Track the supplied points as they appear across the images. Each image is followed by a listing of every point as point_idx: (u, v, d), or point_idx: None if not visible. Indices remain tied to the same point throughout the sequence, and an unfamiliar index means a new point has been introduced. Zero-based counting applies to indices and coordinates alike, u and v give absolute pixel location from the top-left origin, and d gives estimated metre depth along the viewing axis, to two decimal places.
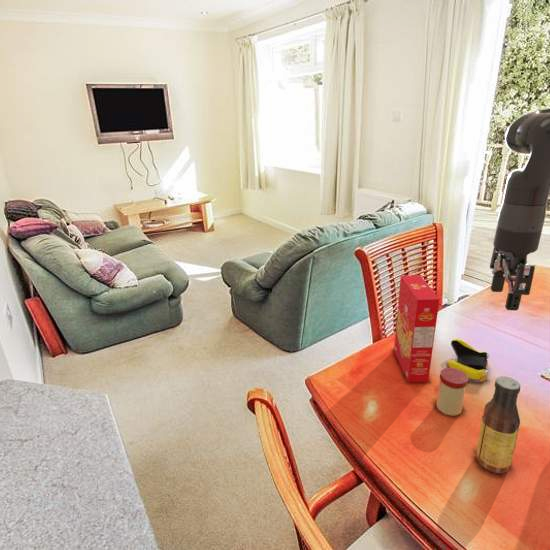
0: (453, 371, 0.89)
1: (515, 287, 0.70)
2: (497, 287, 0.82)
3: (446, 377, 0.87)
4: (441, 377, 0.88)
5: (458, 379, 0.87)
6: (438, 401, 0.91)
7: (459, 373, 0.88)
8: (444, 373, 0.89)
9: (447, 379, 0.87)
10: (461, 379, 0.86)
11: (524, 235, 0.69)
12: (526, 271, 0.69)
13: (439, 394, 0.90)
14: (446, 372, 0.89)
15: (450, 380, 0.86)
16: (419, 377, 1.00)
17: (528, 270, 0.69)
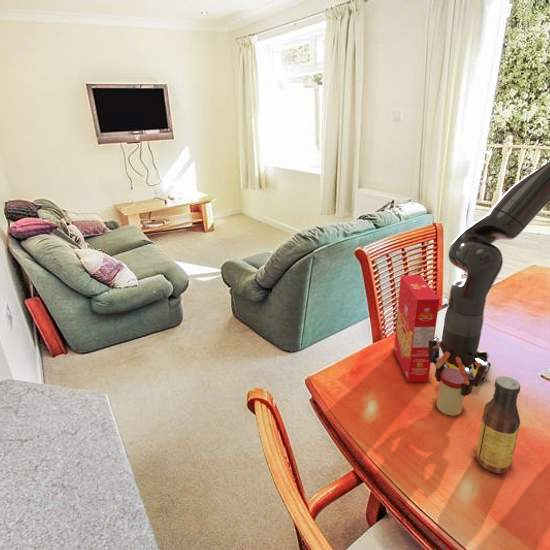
0: (453, 371, 0.89)
1: (477, 381, 0.82)
2: None
3: (446, 377, 0.87)
4: (441, 377, 0.88)
5: (458, 379, 0.87)
6: (438, 401, 0.91)
7: (459, 373, 0.88)
8: (444, 373, 0.89)
9: (447, 379, 0.87)
10: (461, 379, 0.86)
11: (477, 337, 0.80)
12: (486, 369, 0.80)
13: (439, 394, 0.90)
14: (446, 372, 0.89)
15: (450, 380, 0.86)
16: (419, 377, 1.00)
17: (487, 368, 0.80)
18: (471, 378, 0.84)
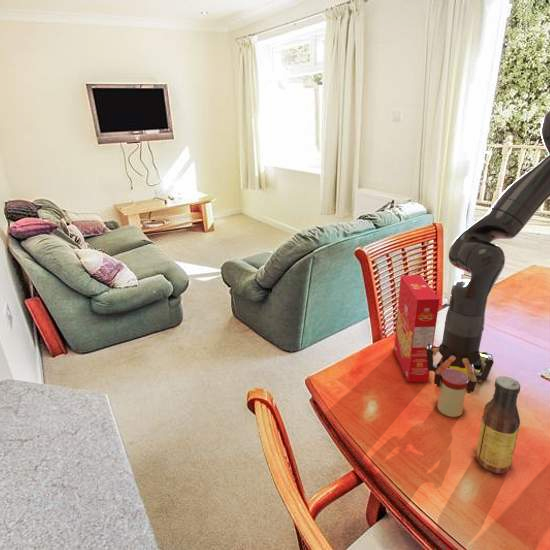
0: (450, 372, 0.89)
1: (485, 376, 0.83)
2: None
3: (452, 381, 0.86)
4: (447, 382, 0.86)
5: (461, 378, 0.86)
6: (439, 403, 0.90)
7: (456, 372, 0.89)
8: (446, 377, 0.87)
9: (454, 382, 0.85)
10: (463, 378, 0.87)
11: None
12: None
13: (440, 396, 0.89)
14: (447, 375, 0.88)
15: (457, 382, 0.85)
16: (419, 377, 1.00)
17: None
18: (475, 374, 0.85)
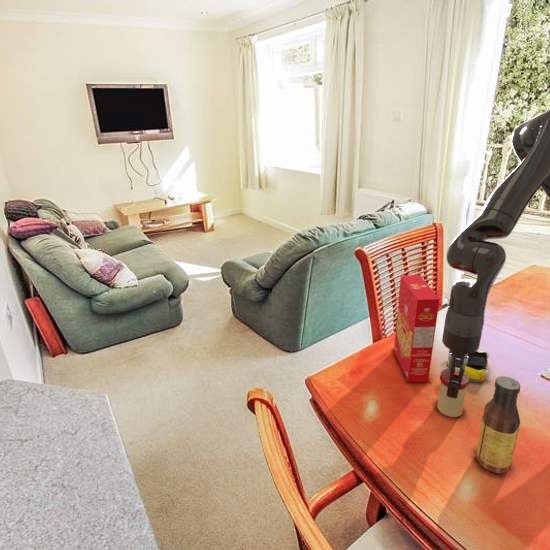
0: (448, 377, 0.87)
1: None
2: None
3: (464, 380, 0.86)
4: (465, 384, 0.85)
5: None
6: (439, 403, 0.90)
7: (447, 373, 0.88)
8: None
9: (466, 379, 0.86)
10: None
11: None
12: None
13: (440, 396, 0.89)
14: None
15: (465, 377, 0.87)
16: (419, 377, 1.00)
17: None
18: None
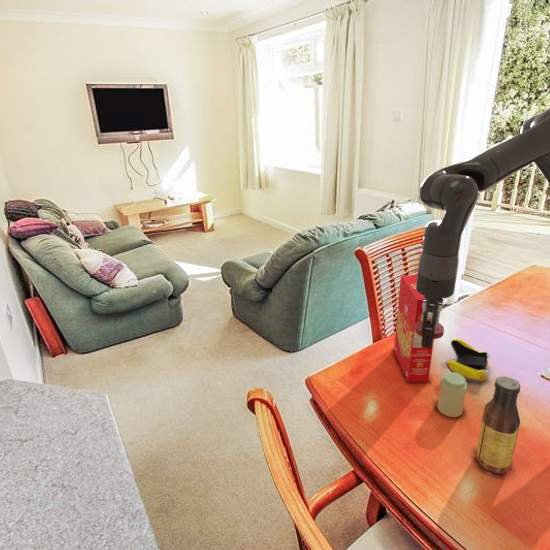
0: None
1: None
2: None
3: (439, 329, 0.82)
4: (440, 334, 0.81)
5: None
6: (439, 403, 0.90)
7: (422, 324, 0.84)
8: None
9: (441, 329, 0.82)
10: None
11: None
12: None
13: (440, 396, 0.89)
14: None
15: (440, 327, 0.83)
16: (419, 377, 1.00)
17: None
18: None
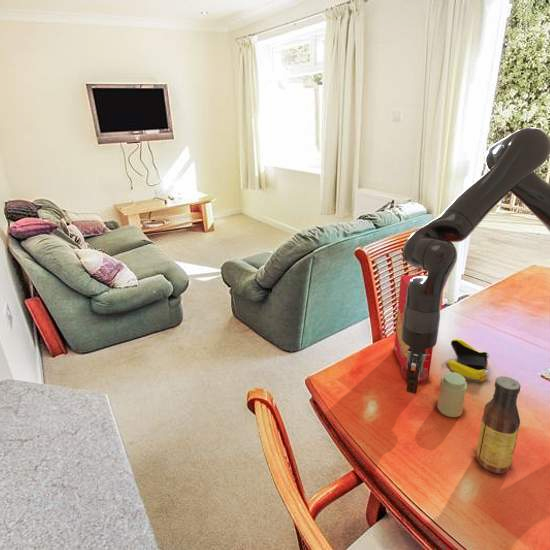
0: None
1: None
2: None
3: (423, 375, 0.87)
4: (424, 380, 0.86)
5: None
6: (439, 403, 0.90)
7: None
8: None
9: (425, 374, 0.87)
10: None
11: None
12: None
13: (440, 396, 0.89)
14: None
15: (425, 373, 0.88)
16: None
17: None
18: None
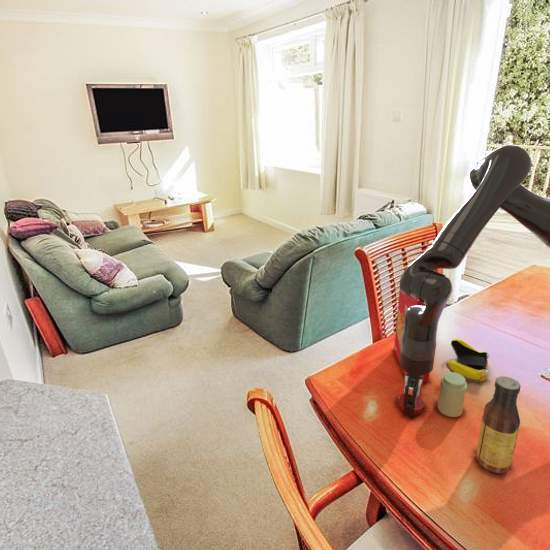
0: None
1: None
2: None
3: (419, 405, 0.91)
4: (420, 410, 0.90)
5: None
6: (439, 403, 0.90)
7: None
8: None
9: (421, 404, 0.91)
10: None
11: None
12: None
13: (440, 396, 0.89)
14: None
15: (421, 402, 0.91)
16: None
17: None
18: None
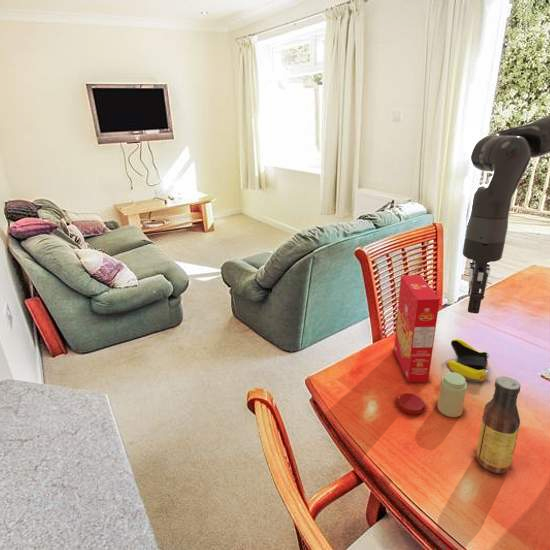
0: (405, 402, 0.92)
1: None
2: None
3: (419, 405, 0.91)
4: (420, 410, 0.90)
5: (413, 398, 0.93)
6: (439, 403, 0.90)
7: (404, 398, 0.93)
8: (414, 407, 0.90)
9: (421, 404, 0.91)
10: (412, 396, 0.93)
11: None
12: None
13: (440, 396, 0.89)
14: (411, 406, 0.90)
15: (421, 402, 0.91)
16: (419, 377, 1.00)
17: None
18: None
